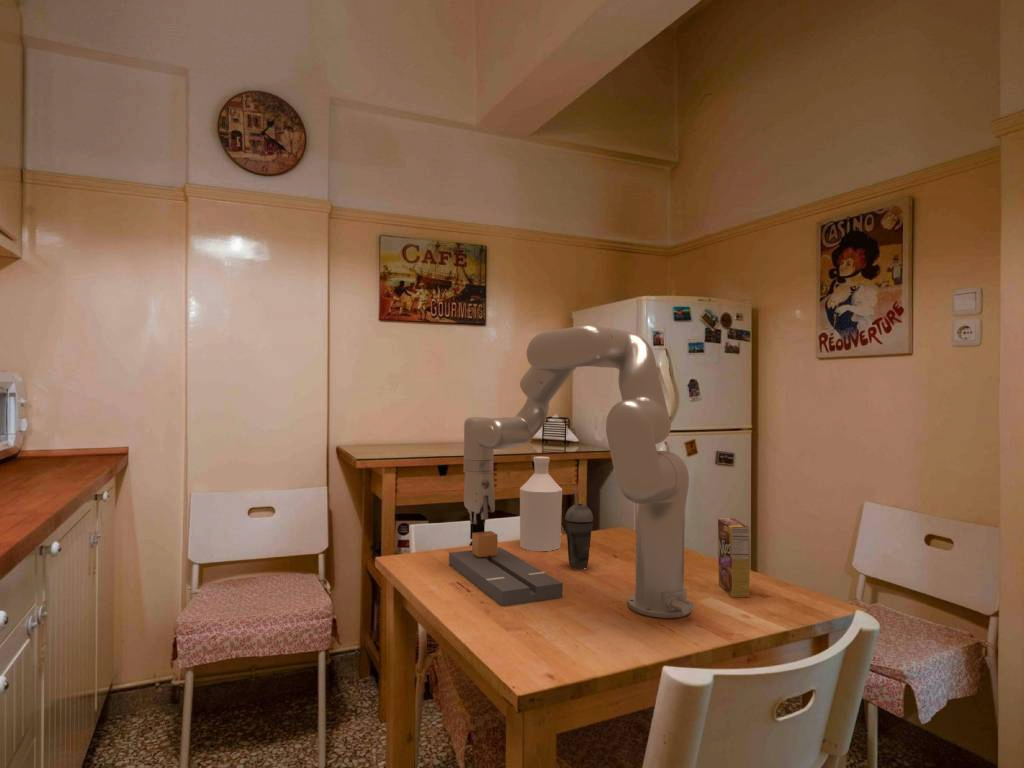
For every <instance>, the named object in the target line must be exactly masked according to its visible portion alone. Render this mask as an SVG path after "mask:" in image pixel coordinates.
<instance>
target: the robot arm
mask: <svg viewBox="0 0 1024 768" xmlns="http://www.w3.org/2000/svg"><path fill="white" fill-rule="evenodd" d="M655 357H656V356H655V355H654V351H653V349H652V347H651V345H650V343H649V342H648V341H647V340H646V339H645V338H643V337H642V336H641V335H639V334H637V333H634V332H631V331H626V330H621V329H616V328H611V327H603V326H597V325H589V324H587V325H585V324H584V325H579V326H572V327H567V328H561V329H556V330H555V329H554V330H549V331H543V332H540V333H538V334H536V335H535V336H534V337H532V339H530V341H529V343H528V345H527V348H526V359H527V361H528V364H529V365H530V367H529V368H528V370H526V372H525V374H524V375H523V376H522V378H521V379H520V381H519V386H520V389H521V391H522V393H523V394H524V395H525V396H526V401H525V404H523V406H522V407H521V409H520V410H519V411H518V413H517V414H516V416H513V417H512V416H510V417H494V418H491V417H484V416H483V417H481V416H479V417H477V416H475V417H472V416H471V417H468V418H466V419H465V420H464V423H463V424H464V427H463V428H464V429H463V433H464V435H463V436H464V437H463V473H464V474H465V475H464V487H463V504H464V508H466V510H467V511H468V513H469V522H470V524H469V525H470V533H469V535H470V536H469V537H470V539H471V540H472V533H475V532H486V531H485V529H486V528H485V525H486V520H488V519H489V513H494V512H495V510H496V509H495V507H496V500H495V499H496V498H495V497H496V496H495V482H494V476H493V473H494V451H495V450H501V449H508V448H518V447H523V446H525V445H526V444H527V443H529V442H530V441H531V440H532V439H533V438H534V437H535V436H536V434H537V433H538V432H539V431H540V430H541V428H542V426H543V425H544V423H545V421H546V419H547V417H548V413H549V409H550V401H552V399H553V398H554V396H555V395H556V394H557V393H558V391H559V390H560V389H561V388H562V386H564V384H565V382H566V381H567V380H568V379H569V378H570V376H571V375H572V374H573V372H574V371H575V370H576V369H577V368H582V367H595V368H596V367H597V368H607V369H608V368H611V369H613V368H614V369H615V368H616V369H617V370H618V378H617V379H618V389H619V392H620V395H621V401H619V402H617V403H616V404H614V405H613V406H612V407H611V408H610V410H609V412H608V414H607V415H606V422H605V434H606V439H607V444H608V449H609V453H610V457H611V461H612V466H613V470H614V471H613V472H614V475H615V478H616V483H617V485H618V488H619V490H620V491H621V493H622V494H623V496H624V497H625V499H627V500H629V501H630V502H632V503H635V504H637V506H638V507H637V512H636V524H635V525H636V528H635V529H636V530H635V593H633V594H630V596H629V597H627V606H628V607H629V608H630V610H632V611H633V612H635V613H637V614H640V615H643V616H648V617H652V618H660V619H675V618H681V617H685V616H688V615H689V614H691V612H692V610H693V609H694V608H695V603H694V601H692V600H690V599H688V596H687V595H688V591H687V589H684V588H685V587H684V586H685V582H684V581H685V575H684V574H685V531H686V530H685V529H686V527H685V526H686V523H685V522H686V521H685V520H686V507H687V505H686V504H687V499H688V492H689V491H688V490H689V485H690V483H689V481H690V478H689V477H690V475H689V470H688V467H687V465H686V463H685V461H684V460H683V458H681V457H680V456H679V455H678V454H677V453H675V452H671V451H667V450H658V449H657V444H660V443H662V442H664V441H665V440H667V438H668V437H669V436H670V433H671V429H672V428H671V427H672V425H671V418H670V413H669V409H668V406H667V403H666V399H665V393H664V389H663V386H662V383H661V379H660V376H659V375H660V374H659V372H658V371H659V370H658V366H657V362H656V358H655Z"/></svg>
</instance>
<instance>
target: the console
mask: <svg viewBox="0 0 1024 768" xmlns="http://www.w3.org/2000/svg"><path fill="white" fill-rule="evenodd" d="M448 565H449V566H450V567H451V568H452V569H454V570H456V572H458V573H459V574H461V576H463V577H465V578H466V579H467V580H468V581H469V582H470V583H472V584H473V585H475V586H476V587H477V588H478V589H480V590H481V591H482V592H483V593H484V594H486V595H487V596H488V597H489V598H491V599H492V600H493V601H495V603H497V604H498V605H499V606H501V607H507V606H506V605H508V606H514V604H515V605H521V604H520V603H522V604H527V602H528V603H535V602H540V601H541V600H542V601H548V600H554V598H555V599H561V598H560V597H562V598H563V594H564V593H563V592H564V589H563V587H564V586H563V585H564V583H563V582H562V581H560V580H558V579H556V578H554V577H553V576H551V575H550V574H547V573H546V572H545V571H542V570H540V568H537V567H535V566H534V565H532V564H531V563H529V562H527V561H525V560H523V559H522V558H520V557H518V556H516V554H513V553H512V552H510V551H508V550H506V549H504V548H502V547H501V546H500V547H498V546H497V555H494V556H489V561H488V560H487V559H485V558H484V557H477V556H476V555H474V554H473V553H472V549H471V550H462V551H453V552H452V551H451V552H449V553H448ZM547 599H548V600H547ZM534 601H535V602H534ZM512 604H513V605H512Z"/></svg>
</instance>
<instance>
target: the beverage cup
mask: <svg viewBox="0 0 1024 768" xmlns="http://www.w3.org/2000/svg"><path fill="white" fill-rule="evenodd" d="M573 491H574V502H575V503H574V504H573V505H571V506H570V507H569V508H568V509H567V511H566V513H565V517H564V525H565V530H566V540H567V541H566V542H567V554H568V555H567V556H568V563H569V565H568V567H569V566H570V567H571V568H570V567H569V568H570V569H572V568H576V569H575V570H577V569H583V570H585V569H584V568H587V567H588V566H589V560H590V559H589V558H590V551H591V550H590V548H591V538H592V530H593V527H594V522H595V521H594V515H593V512H592V510H591V509H590V508H589V507H588V506H587V505H585V504H583V503H578V493H577V486H576V485H575V486H573ZM587 569H588V568H587Z"/></svg>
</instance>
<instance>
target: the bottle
mask: <svg viewBox="0 0 1024 768" xmlns="http://www.w3.org/2000/svg"><path fill="white" fill-rule="evenodd" d="M550 459H551V458H550V457H549V456H533V464H534V465H533V467H534V468H533V469H534V473H533V474H532V475H531V476H530V478H529V479H528V480H527V481H526V482H525V483H524V484H523V485H522V486H521V487H520V488H519V547H520V548H521V547H522V548H523V549H522V548H521V549H522V550H525V549H526V550H525V551H528V550H530V551H529V552H535V551H549V552H552V551H551V550H555V551H557V550H556V549H558V548H560V549H561V545H562V544H561V542H562V541H561V539H562V508H563V507H562V505H563V488H562V487H561V486H559V484H558V483H557V482H556V481H555V480H554V478H553V477H552V476H551V475H550V474H549V463H550ZM558 550H559V549H558Z"/></svg>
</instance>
